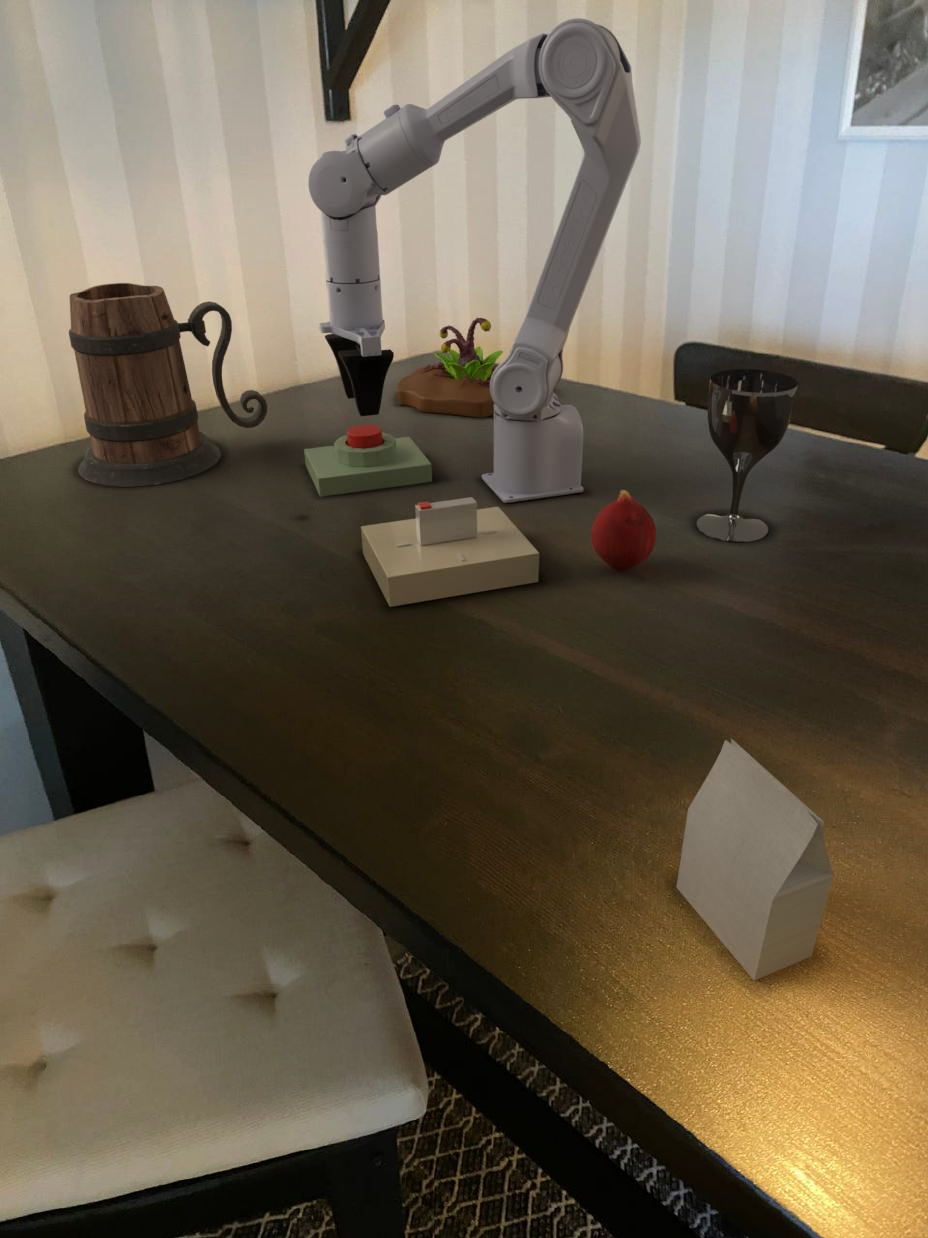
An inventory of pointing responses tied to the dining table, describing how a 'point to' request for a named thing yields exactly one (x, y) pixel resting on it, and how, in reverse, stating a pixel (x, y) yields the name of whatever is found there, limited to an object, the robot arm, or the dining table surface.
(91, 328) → the tankard
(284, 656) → the dining table surface
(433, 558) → the plate
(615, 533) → the onion
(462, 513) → the switch box
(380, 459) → the button block
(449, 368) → the plant
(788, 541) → the dining table surface
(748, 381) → the wine glass
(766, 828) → the tea bag
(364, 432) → the button
